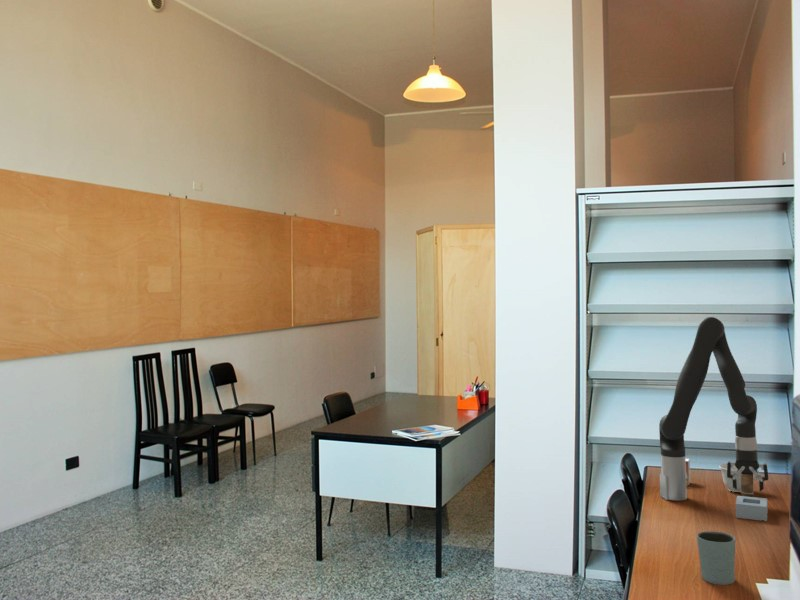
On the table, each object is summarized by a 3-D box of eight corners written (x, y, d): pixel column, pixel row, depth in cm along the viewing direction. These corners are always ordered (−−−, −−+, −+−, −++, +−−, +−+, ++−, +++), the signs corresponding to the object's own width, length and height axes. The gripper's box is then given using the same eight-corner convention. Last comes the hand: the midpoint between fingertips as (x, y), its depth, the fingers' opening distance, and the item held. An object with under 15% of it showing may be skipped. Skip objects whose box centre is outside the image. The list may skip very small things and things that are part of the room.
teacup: (758, 497, 277) (758, 472, 277) (718, 492, 285) (717, 468, 285) (761, 490, 287) (760, 465, 287) (721, 486, 295) (721, 462, 295)
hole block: (766, 521, 247) (766, 506, 247) (735, 517, 252) (735, 503, 252) (767, 511, 258) (767, 498, 258) (737, 508, 262) (737, 495, 262)
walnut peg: (745, 506, 265) (744, 475, 265) (739, 503, 269) (738, 472, 269) (756, 506, 265) (755, 474, 265) (750, 503, 269) (749, 472, 269)
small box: (669, 483, 301) (668, 459, 301) (670, 480, 306) (670, 457, 306) (689, 485, 297) (688, 461, 297) (690, 482, 302) (689, 458, 302)
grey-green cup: (724, 588, 190) (723, 544, 190) (690, 577, 198) (689, 535, 199) (743, 579, 196) (742, 536, 196) (710, 569, 204) (708, 528, 205)
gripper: (766, 447, 267) (768, 489, 267) (726, 444, 274) (728, 486, 274) (767, 450, 261) (769, 494, 261) (725, 448, 267) (727, 490, 267)
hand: (748, 489), depth 267 cm, fingers open, 8 cm apart
